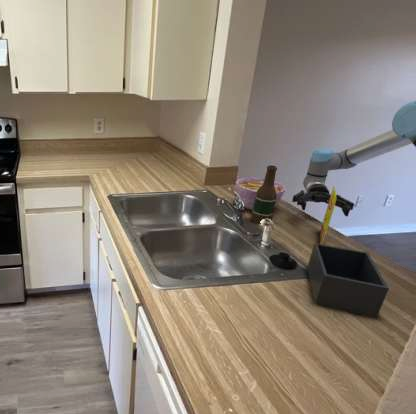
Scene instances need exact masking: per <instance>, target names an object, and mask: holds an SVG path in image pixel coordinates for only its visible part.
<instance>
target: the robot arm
mask: <svg viewBox="0 0 416 414" xmlns="http://www.w3.org/2000/svg"><path fill="white" fill-rule="evenodd" d="M391 128H392V129H390V130H388V131H386V132H383V133H381V134H379V135H377V136H375V137H371V138H370V139H367V140H365V141H362V142H361V143H358V144H356V145H353V146H351V147H348V148H346V149H345V150H341V151H338V152H334V151H333V150H331V149H326V148H315V149H314V150H313V151H312V154H311V156H310V157H309V158H310V160H309V164H308V167H307V172H306V176H304V178H303V181H302V185H303V187H304V189H305V190H303V189H301V190H300V191H299V192H298V193H296V194H293V196H292V200H291V202H292V203H296V205H297V206H301V207H300V208H301V211H305V210H306V207H307V203H308V202H310V203H311V202H313V203H317V204H319V203H325V204H327V205H328V203H329V200H330V197H331V194H330V189H328V187H327V185H326V180H327V177H328V173H329V171H338V170H348V169H353V168H355V167H356V166H357V165H358V164H361V163H363V162H367V161H368V160H371V159H375V158H377V157H379V156H381V155H385V154H387V153H391V152H393V151H395V150H399V149H400V148H401V149H402V148H403V147H404V148H405V147H406V146H409V145H413V146H414V147H415V148H416V100H413V101H410V102H407V103H406V104H404V105H402V106H400V107H399V108H398V109H397V110H396V112H395V113H394V115H393V118H392V120H391ZM336 198H337V199H336V203H335V206H334V207H338V208H340V209H341V211H342V213H343V215H344V217H349V214H350V211H353V210H354V207H355V203H354V202H352V201H350V200H348V199H347V198H344V197H343V196H341V195H340V194H336Z"/></svg>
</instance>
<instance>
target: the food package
mask: <svg viewBox="0 0 416 414" xmlns="http://www.w3.org/2000/svg"><path fill="white" fill-rule="evenodd" d="M330 195H331V197H330V200H329V203H328V204H327V207H326V210H325V214H324V216H323V220H322V223H321V227H320V231H319V244H322V245H324V242H325V239H326V235H327V232H328V228H329V226H330V222H331V219H332V215H333V212H334V209H335V207H336V206H335V203H336V199H337V198H336V195H337V193H336V188H335V186H333V187H332V190H331V194H330Z"/></svg>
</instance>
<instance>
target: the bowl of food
mask: <svg viewBox="0 0 416 414" xmlns="http://www.w3.org/2000/svg"><path fill="white" fill-rule="evenodd" d="M264 179H265V178H261V177H244V178H239V179H237V180H236V182H235V188H236V194H237V193H238V194H239V196H240V197H241V199H242V201H243V203H244V205H245V207H244V209H247V210H250V211H253V206H254V201H255V196H256V193H257V190H258V189H259V187H261V186H262V185H263V182H264ZM274 188H275V190H276V194H277V197H276V203H275V207H274V209H275V208H276V207H277V206H278V204H279V203H280V201H281V200H282V197H283V196H284V193H285V192H286V190H287V189H286V186H285V185H284V184H282V183H280V182H279V181H276V180H275V181H274Z"/></svg>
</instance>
